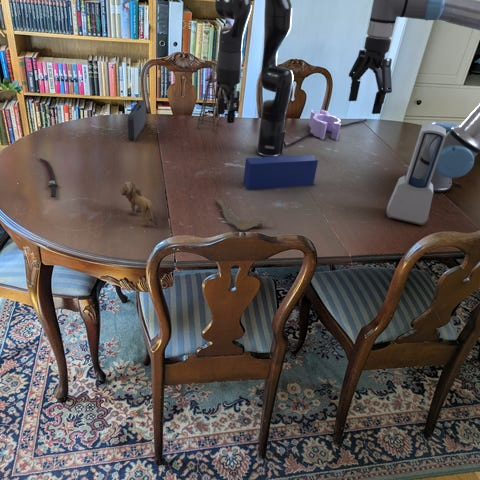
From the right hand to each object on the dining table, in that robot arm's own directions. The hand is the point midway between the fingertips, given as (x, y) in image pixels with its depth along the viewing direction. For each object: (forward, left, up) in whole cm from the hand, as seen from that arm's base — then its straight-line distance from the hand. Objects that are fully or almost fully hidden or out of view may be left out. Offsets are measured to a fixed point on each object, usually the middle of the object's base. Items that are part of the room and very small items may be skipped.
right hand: (363, 107), depth 152 cm
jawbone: (+42, +21, -28) cm, 55 cm away
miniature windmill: (+43, -56, -28) cm, 76 cm away
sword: (+102, -4, -28) cm, 106 cm away
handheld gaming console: (+74, -48, -28) cm, 92 cm away
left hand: (+45, -3, -6) cm, 45 cm away
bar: (+25, 0, -28) cm, 38 cm away
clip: (-9, -54, -28) cm, 62 cm away
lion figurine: (+72, +22, -28) cm, 81 cm away
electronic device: (-12, +24, -28) cm, 39 cm away
